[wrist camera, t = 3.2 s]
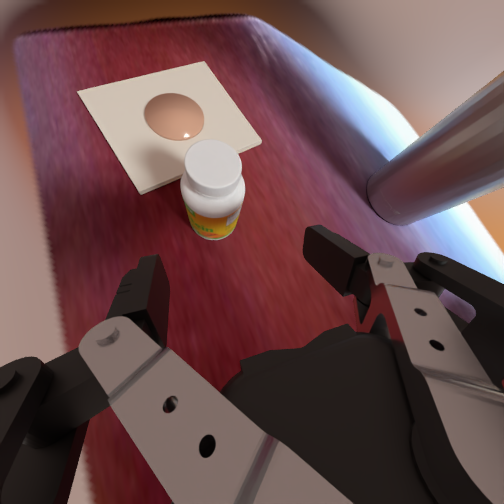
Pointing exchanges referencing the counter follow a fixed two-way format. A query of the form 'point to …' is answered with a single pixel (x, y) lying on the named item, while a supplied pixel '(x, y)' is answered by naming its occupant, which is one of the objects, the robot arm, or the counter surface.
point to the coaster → (174, 116)
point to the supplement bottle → (212, 188)
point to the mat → (151, 144)
